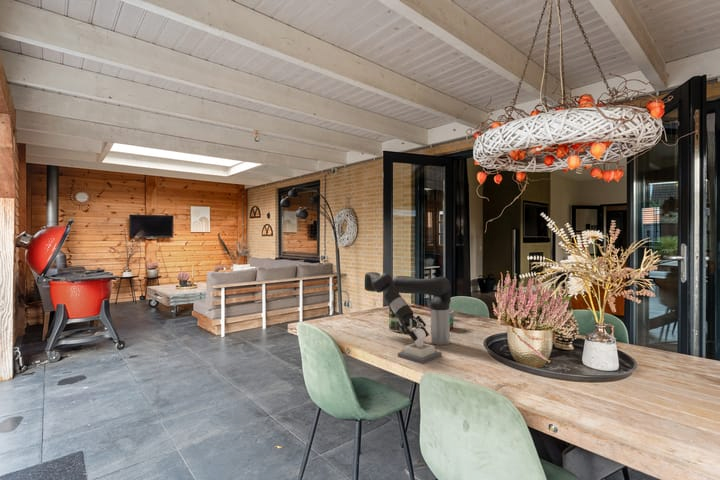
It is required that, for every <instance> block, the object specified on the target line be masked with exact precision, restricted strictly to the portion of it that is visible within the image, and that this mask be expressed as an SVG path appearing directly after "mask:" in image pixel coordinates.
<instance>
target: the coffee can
mask: <svg viewBox="0 0 720 480" xmlns="http://www.w3.org/2000/svg"><path fill="white" fill-rule="evenodd" d="M399 322H400V321H399V319H398V318H397V316H396V315H395V313H394V312H393V310H392V309H391V307H390V305H389V304H388V330H389V332H390V331H391V332H397V333H399V332H403V331H402V330H401V328H400V326H399V325H398V323H399ZM404 330H405V328H404Z"/></svg>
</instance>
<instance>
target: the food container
mask: <svg viewBox="0 0 720 480" xmlns="http://www.w3.org/2000/svg"><path fill="white" fill-rule="evenodd" d="M455 316H456V312H455V311H454V310H453V309H449V323H450V331H451V330H454V321H455V319H454V318H455Z"/></svg>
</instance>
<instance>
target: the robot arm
mask: <svg viewBox="0 0 720 480" xmlns="http://www.w3.org/2000/svg"><path fill="white" fill-rule="evenodd" d="M364 290H365V291H367V292H373V293H374V292H376V293H378V294H379V293H382V292H383V293H384V292H385V294H384V299H385V301H386V302H387V303H388V305H390V307H391V309H392V310H393V312H394V313H395V315H396V316H397V318H398V319H399V321H400V322H399V323H398V325H399V326H400V328H401V330H402V331H401V332H402V333H403V335H406V334H407V335H409V337H410V338H411V340H412V341H416V340H417V336H416V335H415V334H414V332H412V331H413V328H414V329H416V328H421V329H423V330H424V331H425V333H426V338H427V337H429V335H430V338H431V339H430V342H431V344H434V345H438V346H439V345H441V346H446V345H449V344H450V343H451V338H450V337H451V332H450V331H451V330H450V323H449V311H450V304H451V302H452V301H451V298H452V297H451V296H452V285H451V282H450V280H449V279H448V278H447V277H445V276H438V277H437V276H436V277H433V278H416V277H412V276H408V275H397V276H394V277H392V275H390V274H389V273H387V272H384V273H382V274H380V273H379V272H376V271H370V272H366V273H365V275H364ZM401 294H424V295H429V296H433V300H432V301H431V302H430V333H429V332H428V330H427V329H426V326H427V324H426V322H425V321H424V320H423V318H421V316H420V315H417V316H414V311H413V309H412V308H411V307H410V306H409V304H408V302H406V300H405V299H404V298H403V297H402V296H401ZM404 328H405V330H404Z"/></svg>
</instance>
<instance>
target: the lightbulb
mask: <svg viewBox="0 0 720 480" xmlns="http://www.w3.org/2000/svg"><path fill="white" fill-rule="evenodd" d="M412 332H414V334H415V335H416V336H417V340H416V341H414V342H413V343H415V345H416V349H420V350H422V345H423V343H424V342H425V339H426V338H427V337H426V333H425V331H424V330H423V329H421V328H414V329H412Z"/></svg>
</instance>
